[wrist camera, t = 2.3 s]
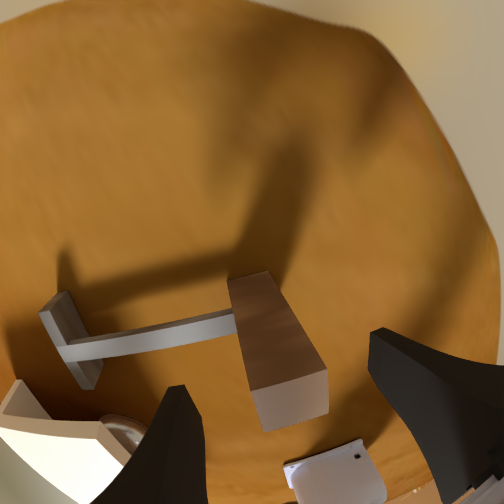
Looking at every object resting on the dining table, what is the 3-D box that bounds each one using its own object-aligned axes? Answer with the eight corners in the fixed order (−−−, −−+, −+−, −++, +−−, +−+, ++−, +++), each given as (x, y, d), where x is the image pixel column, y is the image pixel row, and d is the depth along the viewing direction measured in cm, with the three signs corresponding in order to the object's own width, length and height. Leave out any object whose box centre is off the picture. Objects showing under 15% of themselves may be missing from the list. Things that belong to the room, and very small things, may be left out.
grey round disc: (135, 410, 19) (132, 428, 17) (159, 442, 20) (158, 458, 18) (89, 413, 18) (83, 428, 16) (115, 443, 20) (112, 458, 18)
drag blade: (262, 242, 16) (324, 325, 7) (278, 328, 18) (328, 435, 9) (57, 293, 15) (-16, 377, 6) (93, 365, 17) (56, 461, 8)
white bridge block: (115, 373, 17) (95, 439, 11) (195, 479, 23) (198, 523, 17) (16, 379, 16) (-11, 424, 10) (107, 479, 22) (102, 517, 16)
